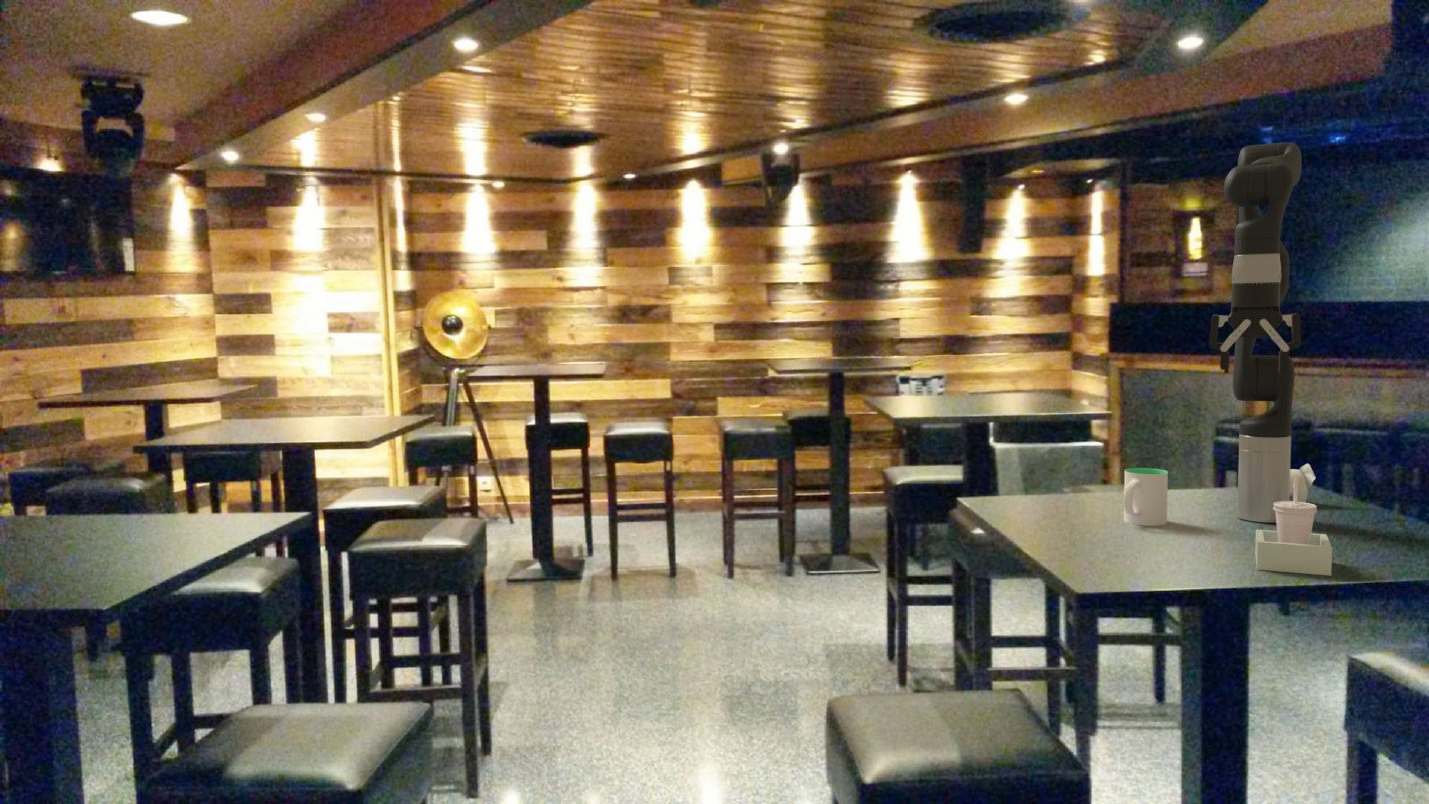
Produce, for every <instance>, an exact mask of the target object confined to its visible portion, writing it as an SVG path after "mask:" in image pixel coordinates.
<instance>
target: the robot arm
mask: <svg viewBox="0 0 1429 804" xmlns="http://www.w3.org/2000/svg"><path fill="white" fill-rule="evenodd" d="M1237 159H1238V160H1237V166H1235V167H1233V168H1232V169H1231V170H1230V171H1229V172H1228V174H1227V175H1226V177H1225V181H1224V185H1223V193H1224V197H1225V199H1226V201H1227V203H1229V205H1231V206H1234V207H1238V223H1237V225H1236V226H1235V230H1234V253H1233V254H1234V257H1233V261H1232V262H1233V263H1232V271H1231V305H1230V307H1231V308H1230V309H1231V310H1230V313H1229V315H1219V314H1213V315H1212V316H1211V320H1210V321H1211V322H1210V331H1209V332H1210V333H1209V343H1208V345H1209V348H1210V349H1215V350H1216V351H1217V350H1218V351H1219V353H1220V357H1219V358H1220V359H1219V366H1220V367H1219V368H1220V370H1222V371H1223V370H1224V373H1223V374H1229V373H1230V370H1229V369H1230V352H1229V349H1230V348H1231V347H1232V346H1233V344H1234V343H1235V345H1234V355H1233V369H1232V391H1233V395H1234V398H1235V399H1236V400H1238V401H1242V402H1273V404H1272V407H1270V408H1269V409H1268V410H1266V411H1264V412H1263V413H1259V414H1257V415H1254V416H1251V417H1248V418H1244V419H1243V420H1241V421H1240V422H1239V432H1238V433H1239V435H1238V436H1239V439H1238V442H1239V443H1238V478H1237V479H1238V480H1237V514H1236V515H1237V518H1239V519H1242V520H1245V521H1248V522H1255V523H1276V513H1275V510H1274V509H1273V505H1274V503H1275V502H1279V501H1289V490H1290V469H1291V453H1292V450H1291V449H1292V447H1291V446H1292V415H1293V413H1292V412H1293V410H1292V409H1293V399H1294V398H1293V397H1294V387H1295V376H1296V373H1295V370H1296V369H1295V365H1294V364H1295V363H1294V362H1293V359H1292V358H1291V357H1290V352H1291V351H1292V350H1296V349H1299V348H1300V347H1302V333H1301V330H1302V329H1301V328H1302V327H1301V315H1300V314H1299V313H1297V312H1295V313H1291V314H1282V313H1281V310H1280V309H1281V306H1280V304H1281V303H1282V301H1283V300H1284V298H1285V297H1286V294H1287V293H1288V290H1289V283H1290V282H1289V281H1290V279H1289V278H1290V257H1289V256H1290V255H1289V253H1288V250H1287V249H1286V247H1285V245H1284V244H1283V243H1282V242H1281V233H1282V232H1281V231H1282V224H1283V219H1284V214H1285V212H1286V208H1287V205H1288V202H1289V200H1290V197H1291V194H1292V192H1293V188H1294V187H1295V186H1297V184H1298V183H1299V180H1300V179H1301V174H1302V161H1303V160H1302V152H1301V149H1300V147H1299V146H1298V145H1297V144H1295V143H1293V142H1289V141H1288V142H1286V141H1285V142H1284V141H1283V142H1276V143H1275V142H1273V143H1262V144H1253V145H1245V146H1244V147H1243V148H1241V150H1240V151H1239V155H1238V158H1237ZM1263 206H1264V207H1265V206H1269V208H1268V210H1267V211H1266V212H1265V214H1264V215H1263V213H1262V212H1261V209H1260V207H1263ZM1283 321H1285V323H1286V325H1287V326H1288V327H1291V341H1290V342H1286V341H1285V340H1284V339H1283V337H1281V335H1280V334H1279V333H1278V332H1277V331H1276V329H1277V328H1278V326H1280V324H1281V323H1282V322H1283ZM1226 322H1228V324H1229V325H1230V326H1231V328H1232V329H1233V331H1232V332H1231V333H1230V335H1229V336H1228V337H1227V338H1226V339H1225V341H1223V343H1221V342H1218V337H1219V328H1221V327H1223V326H1224V325H1225V323H1226ZM1269 337H1270V338H1271V339H1272V341H1273V342H1274V343H1275V344H1276V345H1277V346H1278V348H1279V349H1280V351H1278V355H1252V354H1253V348H1254V345H1255V342H1256V340H1257V339H1259V340H1260V339H1262V340H1263V339H1267V338H1269Z"/></svg>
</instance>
